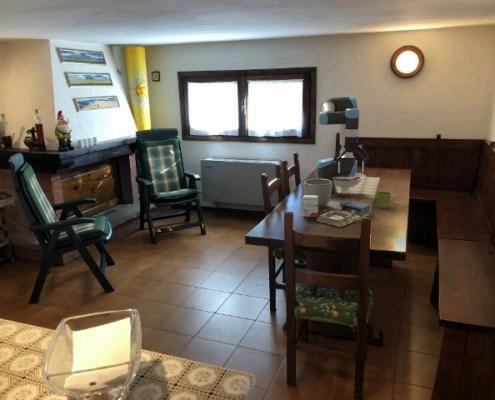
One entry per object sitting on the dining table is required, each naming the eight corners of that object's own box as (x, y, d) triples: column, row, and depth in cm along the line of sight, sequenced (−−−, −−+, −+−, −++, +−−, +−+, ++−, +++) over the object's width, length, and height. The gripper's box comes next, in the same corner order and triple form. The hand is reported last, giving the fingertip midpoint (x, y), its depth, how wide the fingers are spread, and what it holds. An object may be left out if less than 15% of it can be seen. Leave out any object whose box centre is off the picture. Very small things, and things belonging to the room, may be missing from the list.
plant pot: (372, 205, 253) (373, 191, 251) (387, 204, 254) (388, 190, 251) (378, 209, 244) (379, 195, 242) (393, 208, 245) (394, 194, 243)
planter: (314, 201, 267) (314, 177, 263) (337, 205, 255) (337, 180, 251) (298, 207, 256) (297, 182, 251) (320, 212, 244) (321, 186, 239)
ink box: (318, 214, 241) (318, 195, 237) (317, 217, 236) (317, 197, 233) (304, 213, 243) (303, 194, 240) (302, 216, 239) (302, 196, 236)
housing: (362, 215, 231) (362, 207, 230) (340, 209, 242) (340, 202, 241) (369, 212, 236) (370, 204, 234) (347, 207, 247) (348, 200, 245)
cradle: (340, 227, 218) (340, 219, 217) (316, 220, 230) (316, 213, 229) (370, 215, 236) (370, 207, 234) (347, 209, 247) (347, 202, 246)
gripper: (329, 137, 235) (328, 173, 241) (374, 136, 229) (373, 174, 235) (329, 135, 242) (329, 171, 248) (374, 135, 236) (372, 171, 242)
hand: (350, 172), depth 241 cm, fingers open, 13 cm apart
